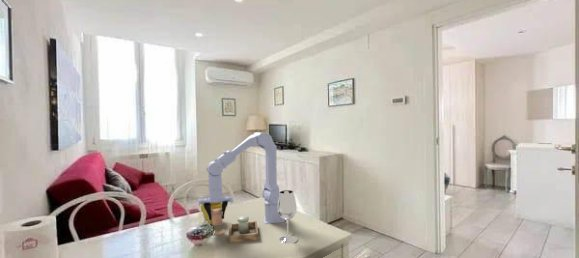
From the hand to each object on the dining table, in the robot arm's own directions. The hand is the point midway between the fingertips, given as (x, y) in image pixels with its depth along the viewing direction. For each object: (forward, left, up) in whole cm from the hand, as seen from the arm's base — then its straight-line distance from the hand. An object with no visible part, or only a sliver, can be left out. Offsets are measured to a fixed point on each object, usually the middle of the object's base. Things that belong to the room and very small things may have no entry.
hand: (216, 218), depth 120 cm
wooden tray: (-12, +5, -6) cm, 14 cm away
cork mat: (0, 0, -6) cm, 6 cm away
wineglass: (-30, +15, -6) cm, 34 cm away
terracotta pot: (0, 0, -2) cm, 2 cm away
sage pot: (-12, +2, -6) cm, 13 cm away
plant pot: (+3, -13, -7) cm, 15 cm away
